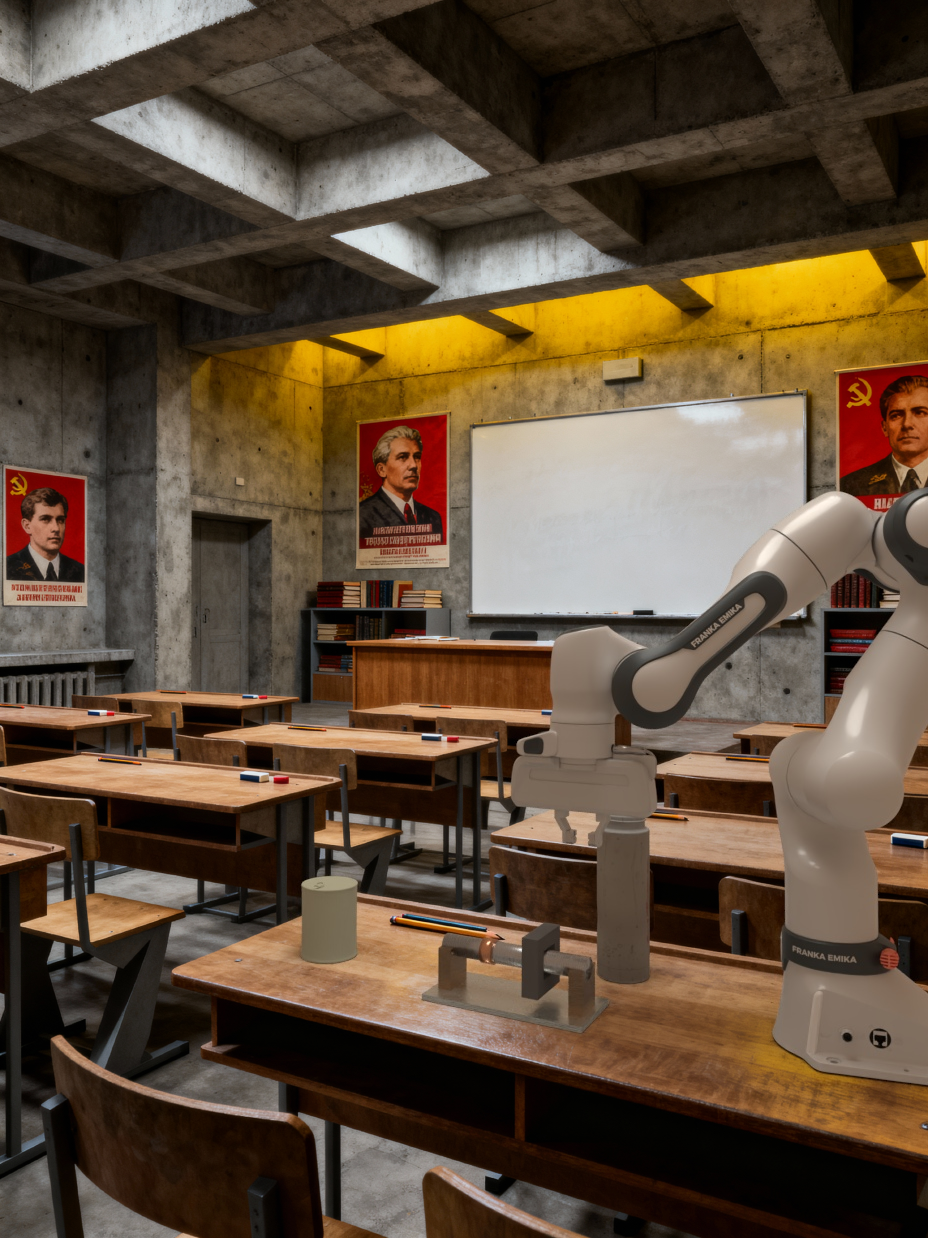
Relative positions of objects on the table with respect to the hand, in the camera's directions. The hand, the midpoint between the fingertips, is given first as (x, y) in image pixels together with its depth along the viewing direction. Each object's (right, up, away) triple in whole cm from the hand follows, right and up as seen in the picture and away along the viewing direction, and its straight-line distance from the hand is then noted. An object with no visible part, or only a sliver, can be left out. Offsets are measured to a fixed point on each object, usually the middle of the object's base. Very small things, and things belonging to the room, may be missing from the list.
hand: (582, 844), depth 126 cm
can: (-38, -24, +24) cm, 51 cm away
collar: (-5, -21, +2) cm, 21 cm away
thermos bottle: (+8, -24, +15) cm, 29 cm away
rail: (-9, -23, +4) cm, 25 cm away
